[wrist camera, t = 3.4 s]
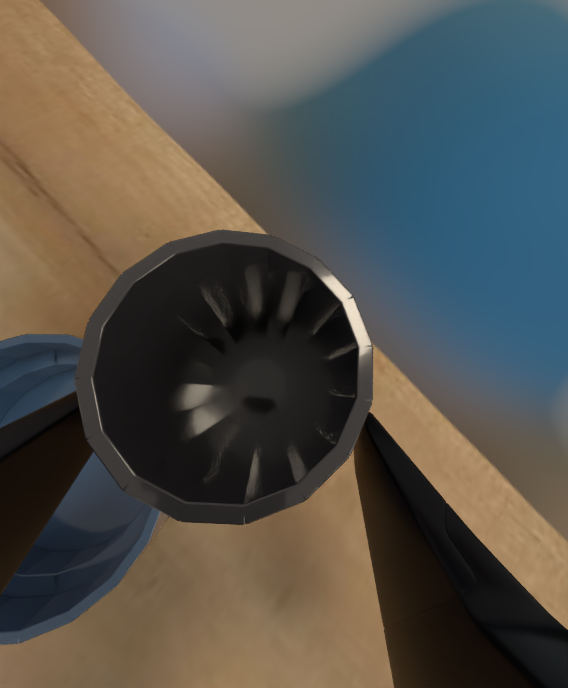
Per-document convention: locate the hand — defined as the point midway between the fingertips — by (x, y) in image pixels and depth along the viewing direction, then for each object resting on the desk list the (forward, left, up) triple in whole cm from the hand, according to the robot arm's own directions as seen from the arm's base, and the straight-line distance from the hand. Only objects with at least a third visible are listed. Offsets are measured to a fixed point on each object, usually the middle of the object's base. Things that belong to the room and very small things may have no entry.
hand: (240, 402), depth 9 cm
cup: (+1, 0, -9) cm, 9 cm away
